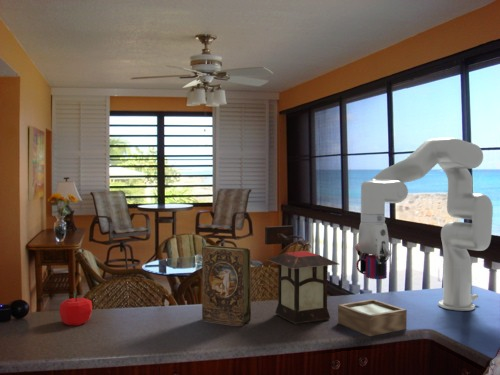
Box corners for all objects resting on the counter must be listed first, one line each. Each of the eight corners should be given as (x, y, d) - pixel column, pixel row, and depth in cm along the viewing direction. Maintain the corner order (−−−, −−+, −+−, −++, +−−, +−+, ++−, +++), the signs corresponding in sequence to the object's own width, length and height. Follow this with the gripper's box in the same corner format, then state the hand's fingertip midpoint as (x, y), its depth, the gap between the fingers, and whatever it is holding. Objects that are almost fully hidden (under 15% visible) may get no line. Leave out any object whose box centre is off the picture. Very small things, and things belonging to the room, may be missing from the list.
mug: (389, 279, 166) (389, 258, 165) (358, 279, 165) (358, 258, 165) (382, 274, 172) (383, 254, 172) (353, 275, 172) (353, 254, 171)
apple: (96, 324, 170) (95, 294, 170) (62, 329, 165) (61, 298, 165) (89, 316, 179) (88, 288, 179) (56, 321, 174) (56, 291, 174)
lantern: (300, 303, 198) (300, 225, 196) (339, 320, 174) (340, 232, 173) (256, 308, 190) (256, 227, 189) (292, 328, 166) (292, 235, 165)
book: (199, 321, 174) (199, 247, 173) (207, 316, 179) (207, 245, 178) (243, 327, 167) (243, 250, 166) (250, 322, 172) (250, 248, 171)
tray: (373, 316, 179) (373, 299, 179) (406, 329, 165) (406, 309, 165) (338, 323, 171) (338, 304, 171) (369, 336, 158) (369, 316, 158)
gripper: (400, 220, 161) (400, 277, 162) (363, 216, 177) (363, 268, 177) (382, 222, 158) (382, 280, 158) (346, 217, 173) (346, 270, 174)
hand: (372, 273), depth 168 cm, fingers closed on mug, 6 cm apart
